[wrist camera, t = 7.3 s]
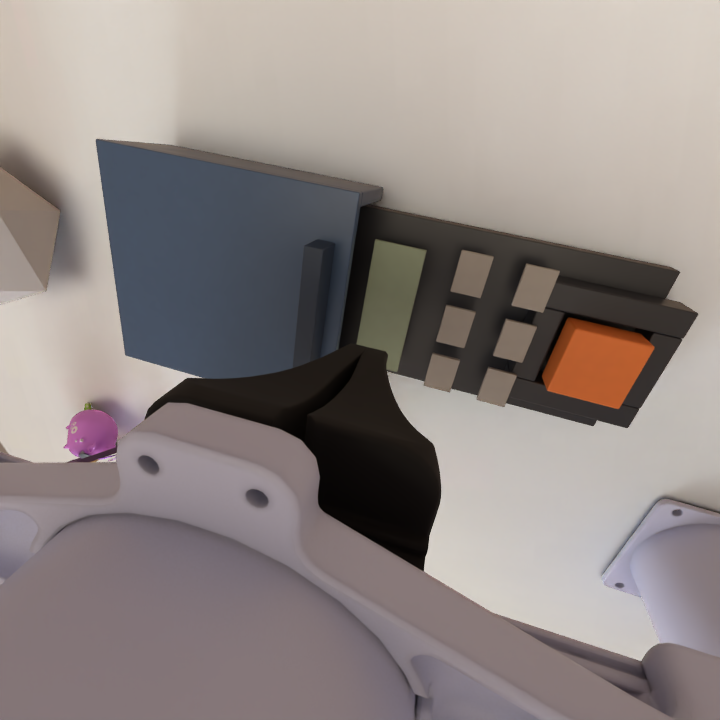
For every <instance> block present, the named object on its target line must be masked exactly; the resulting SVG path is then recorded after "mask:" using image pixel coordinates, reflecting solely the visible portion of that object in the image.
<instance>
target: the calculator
mask: <svg viewBox="0 0 720 720" xmlns="http://www.w3.org/2000/svg"><path fill="white" fill-rule="evenodd" d="M376 239H378V240H383V241H387V242H392V243H396V244H401V245H405V246H410V247H415V248H419V249H424V250H427V252H426V256H425V260H424V264H423V268H422V272H421V276H420V280H419V285H418V289H417V293H416V297H415V301H414V305H413V309H412V313H411V318H410V322H409V326H408V330H407V334H406V338H405V342H404V346H403V351H402V355H401V359H400V363H399V367H398V371H397V372H394V371H390V370H387V371H388V372H392V373H396V374H399V375H403V376H407V377H411V378H414V379H418V380H422V381H425V378H426V374H427V371H428V367H429V364H430V360H431V357H432V353H437V354H441V355H445V356H449V357H452V358H456V359H460V363H459V366H458V369H457V372H456V375H455V378H454V381H453V384H452V387H451V388H452V389H456V390H459V391H463V392H467V393H471V394H474V395H478V393H479V390H480V388H481V385H482V382H483V379H484V377H485V374H486V371H487V369H488V367H492V368H496V369H499V370H503V371H507V372H511V373H515V374H517V377H516V379H515V382H514V384H513V387H512V389H511V391H510V394H509V396H508V399H507V401H506V403H508V404H512V405H515V406H519V407H523V408H527V409H530V410H534V411H538V412H542V413H545V414H549V415H553V416H557V417H560V418H564V419H568V420H572V421H575V422H579V423H583V424H587V425H590V426H594V424H595V423H596V421H597V420H598V421H602V422H606V423H610V424H613V425H617V426H621V427H625V428H628V427H629V425H630V424H631V422H632V421H633V419H634V417H635V416H636V414H637V412H638V411H639V408H641V406H642V405H643V403H644V401H645V400H646V398H647V396H648V395H649V393H650V392H651V390H652V388H653V387H654V385H655V384H656V382H657V380H658V379H659V377H660V375H661V374H662V372H663V371H664V369H665V367H666V366H667V364H668V362H669V361H670V359H671V358H672V356H673V354H674V353H675V351H676V350H677V348H678V346H679V345H680V343H681V341H682V339H681V338H684V337H685V335H686V333H687V332H688V330H689V329H690V327H691V325H692V324H693V322H694V321H695V319H696V317H697V316H698V313H697V312H695V311H693V310H692V309H690V308H689V307H687V306H685V305H684V304H682V303H681V302H677V301H672V300H668V299H665V298H666V297H667V295H668V293H669V291H670V289H671V288H672V286H673V284H674V282H675V281H676V279H677V277H678V275H679V273H680V272H679V271H678V270H675V269H673V268H671V267H667V266H662V265H657V264H653V263H648V262H643V261H638V260H633V259H628V258H624V257H619V256H614V255H609V254H604V253H599V252H595V251H590V250H585V249H580V248H575V247H570V246H566V245H561V244H556V243H551V242H546V241H541V240H537V239H532V238H527V237H522V236H517V235H512V234H508V233H503V232H498V231H493V230H488V229H483V228H479V227H474V226H469V225H464V224H459V223H454V222H450V221H445V220H440V219H435V218H430V217H425V216H421V215H416V214H411V213H406V212H401V211H396V210H392V209H387V208H382V207H377V206H372V205H365V206H362V207H360V213H359V219H358V225H357V232H356V238H355V245H354V251H353V258H352V264H351V271H350V277H349V284H348V290H347V297H346V303H345V310H344V316H343V323H342V329H341V336H340V342H339V349H340V348H342V347H344V346H346V345H349V344H351V343H352V344H357V339H358V333H359V327H360V322H361V316H362V310H363V305H364V299H365V294H366V288H367V282H368V277H369V271H370V265H371V260H372V254H373V249H374V243H375V240H376ZM462 250H466V251H471V252H476V253H480V254H485V255H489V256H493V257H494V258H493V261H492V265H491V268H490V271H489V274H488V277H487V280H486V283H485V286H484V289H483V292H482V295H481V298H477V297H473V296H469V295H464V294H460V293H456V292H451V291H450V290H451V286H452V283H453V279H454V276H455V272H456V269H457V265H458V262H459V258H460V255H461V251H462ZM526 264H531V265H536V266H540V267H545V268H550V269H554V270H559V271H560V273H559V275H558V278H557V280H556V283H555V285H554V288H553V290H552V292H551V295H550V297H549V300H548V302H547V304H546V307H545V309H544V312H543V313H542V312H538V311H533V310H529V309H525V308H520V307H516V306H512V305H511V303H512V301H513V298H514V295H515V292H516V290H517V287H518V284H519V282H520V279H521V276H522V273H523V271H524V268H525V265H526ZM446 305H451V306H455V307H459V308H464V309H468V310H472V311H476V314H475V317H474V320H473V323H472V326H471V329H470V332H469V335H468V338H467V341H466V344H465V347H464V348H461V347H457V346H453V345H449V344H445V343H441V342H437V341H436V339H437V336H438V332H439V328H440V325H441V321H442V318H443V314H444V311H445V307H446ZM568 317H571V318H575V319H579V320H584V321H588V322H592V323H597V324H601V325H605V326H610V327H614V328H618V329H623V330H627V331H631V332H635V333H640V334H642V335H643V336H644V337H645V338H646V339H647V340H648V341H649V342H650V343H651V344H652V345H653V346H654V347H655V348H654V350H653V352H652V354H651V355H650V357H649V359H648V361H647V362H646V364H645V366H644V367H643V369H642V371H641V372H640V374H639V376H638V378H637V379H636V381H635V383H634V384H633V386H632V388H631V390H630V391H629V393H628V395H627V396H626V398H625V400H624V401H623V403H622V405H621V407H620V408H619V409H616V408H612V407H608V406H604V405H600V404H596V403H592V402H589V401H585V400H581V399H577V398H573V397H569V396H565V395H562V394H558V393H554V392H550V391H547V389H546V386H545V384H544V381H543V378H542V374H543V371H544V369H545V367H546V365H547V362H548V360H549V358H550V356H551V354H552V351H553V349H554V347H555V345H556V342H557V340H558V338H559V336H560V334H561V331H562V329H563V327H564V325H565V322H566V320H567V318H568ZM506 319H510V320H514V321H518V322H523V323H527V324H531V325H535V326H537V329H536V331H535V333H534V336H533V338H532V341H531V343H530V346H529V348H528V350H527V353H526V355H525V358H524V360H523V362H522V363H520V362H516V361H512V360H508V359H505V358H501V357H497V356H493V352H494V350H495V347H496V344H497V341H498V339H499V336H500V333H501V331H502V328H503V325H504V322H505V320H506Z"/></svg>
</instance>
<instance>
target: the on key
mask: <svg viewBox="0 0 720 720" xmlns="http://www.w3.org/2000/svg"><path fill="white" fill-rule="evenodd" d="M654 348H655V347H654V346H653V345H652V344H651V343H650V342H649V341H648V340H647V339H646V338H645V337H644V336H643V335H642V334H640V333H635V332H631V331H627V330H623V329H618V328H614V327H610V326H605V325H601V324H597V323H592V322H588V321H584V320H579V319H575V318H571V317H568V318H567V320H566V322H565V325H564V327H563V329H562V331H561V334H560V336H559V338H558V340H557V342H556V345H555V347H554V349H553V351H552V354H551V356H550V358H549V360H548V362H547V365H546V367H545V369H544V371H543V374H542V378H543V381H544V384H545V386H546V389H547V391H550V392H554V393H558V394H562V395H565V396H569V397H573V398H577V399H581V400H585V401H589V402H592V403H596V404H600V405H604V406H608V407H612V408H616V409H619V408H620V407H621V405H622V403H623V401H624V400H625V398H626V396H627V395H628V393H629V391H630V390H631V388H632V386H633V384H634V383H635V381H636V379H637V378H638V376H639V374H640V372H641V371H642V369H643V367H644V366H645V364H646V362H647V361H648V359H649V357H650V355H651V354H652V352H653V350H654Z"/></svg>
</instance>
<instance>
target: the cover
mask: <svg viewBox="0 0 720 720" xmlns="http://www.w3.org/2000/svg"><path fill="white" fill-rule="evenodd" d="M96 146H97V153H98V161H99V168H100V175H101V182H102V189H103V197H104V204H105V211H106V218H107V226H108V233H109V240H110V247H111V255H112V262H113V269H114V276H115V284H116V291H117V298H118V305H119V313H120V320H121V327H122V334H123V341H124V349H125V355H126V356H129V357H133V358H136V359H140V360H143V361H147V362H150V363H154V364H157V365H161V366H164V367H168V368H171V369H174V370H178V371H181V372H185V373H188V374H192V375H195V376H199V377H202V378H208V379H225V378H241V377H251V376H258V375H264V374H270V373H275V372H280V371H284V370H287V369H291V368H294V367H298V366H301V365H303V364H306V363H308V362H311V361H314V360H316V359H319V358H321V357H323V356H325V355H328V354H330V353H332V352H334V351H336V350H338V349H339V342H340V336H341V329H342V323H343V316H344V310H345V303H346V297H347V290H348V284H349V277H350V271H351V264H352V258H353V251H354V245H355V238H356V232H357V225H358V219H359V213H360V207H362V206H365V205H368V204H370V203H373V202H376V201H379V200H381V198H382V192H383V187H379V186H374V185H369V184H364V183H359V182H354V181H349V180H344V179H339V178H334V177H329V176H324V175H319V174H314V173H309V172H304V171H299V170H294V169H289V168H284V167H279V166H274V165H269V164H264V163H259V162H254V161H249V160H244V159H239V158H234V157H229V156H224V155H219V154H214V153H209V152H204V151H199V150H194V149H189V148H184V147H179V146H174V145H166V144H153V143H141V142H128V141H116V140H104V139H96Z"/></svg>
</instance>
